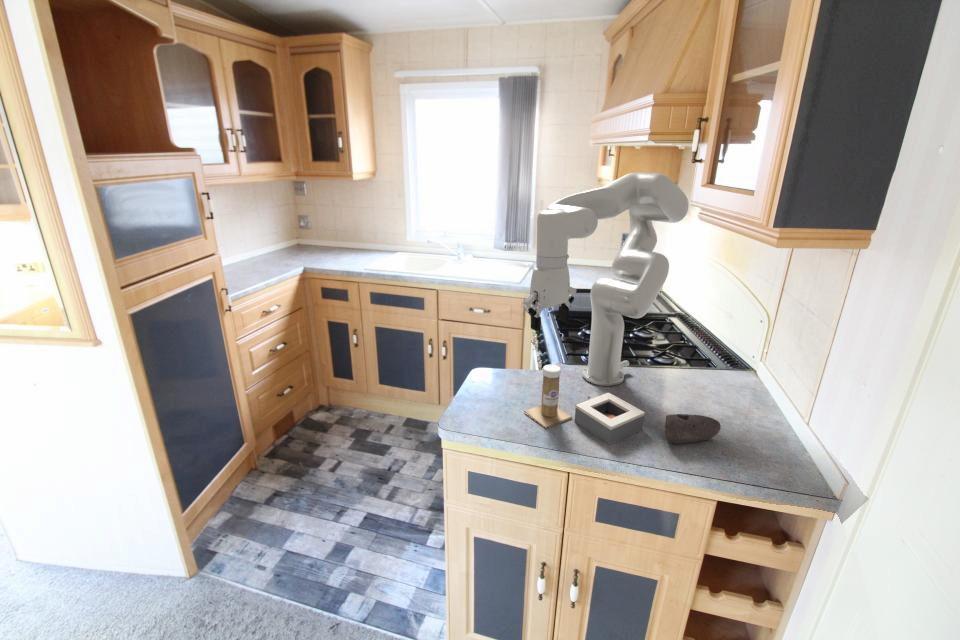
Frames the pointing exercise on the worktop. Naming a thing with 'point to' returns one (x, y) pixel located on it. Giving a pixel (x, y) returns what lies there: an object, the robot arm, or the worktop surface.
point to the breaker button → (609, 416)
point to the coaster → (545, 420)
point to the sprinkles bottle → (550, 390)
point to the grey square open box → (605, 427)
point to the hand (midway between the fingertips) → (549, 325)
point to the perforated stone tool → (690, 428)
